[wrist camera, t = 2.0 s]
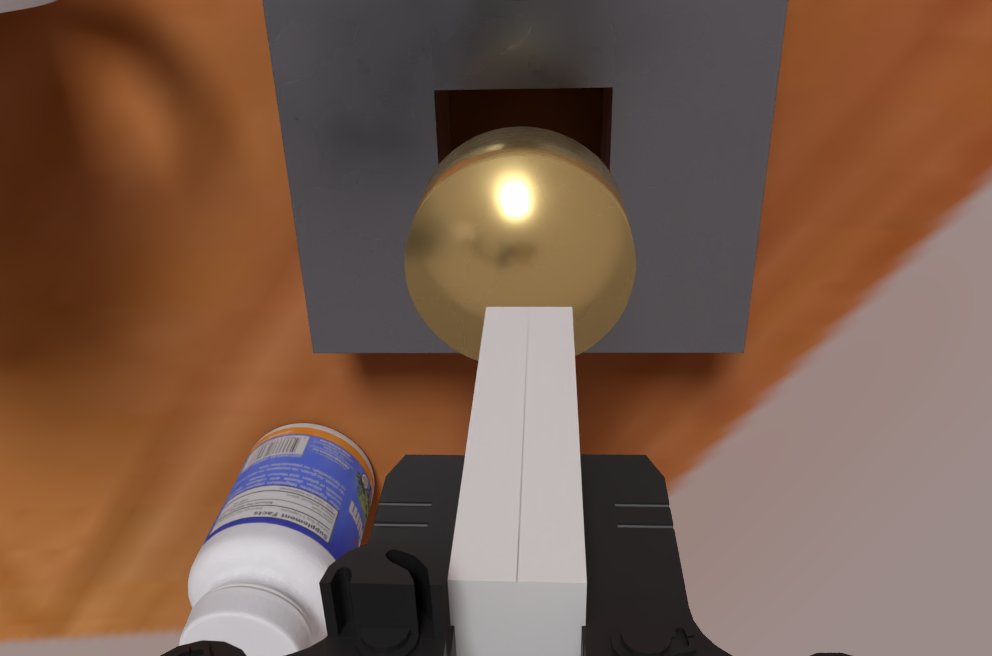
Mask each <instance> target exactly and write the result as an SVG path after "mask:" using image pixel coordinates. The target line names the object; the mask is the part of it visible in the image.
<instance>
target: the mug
mask: <svg viewBox="0 0 992 656" xmlns="http://www.w3.org/2000/svg"><path fill="white" fill-rule="evenodd" d="M54 1H57V0H0V13H4V12H10V11H16V10H22V9H27V8H32V7H37V6H41V5H45V4H48V3H51V2H54Z"/></svg>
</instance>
